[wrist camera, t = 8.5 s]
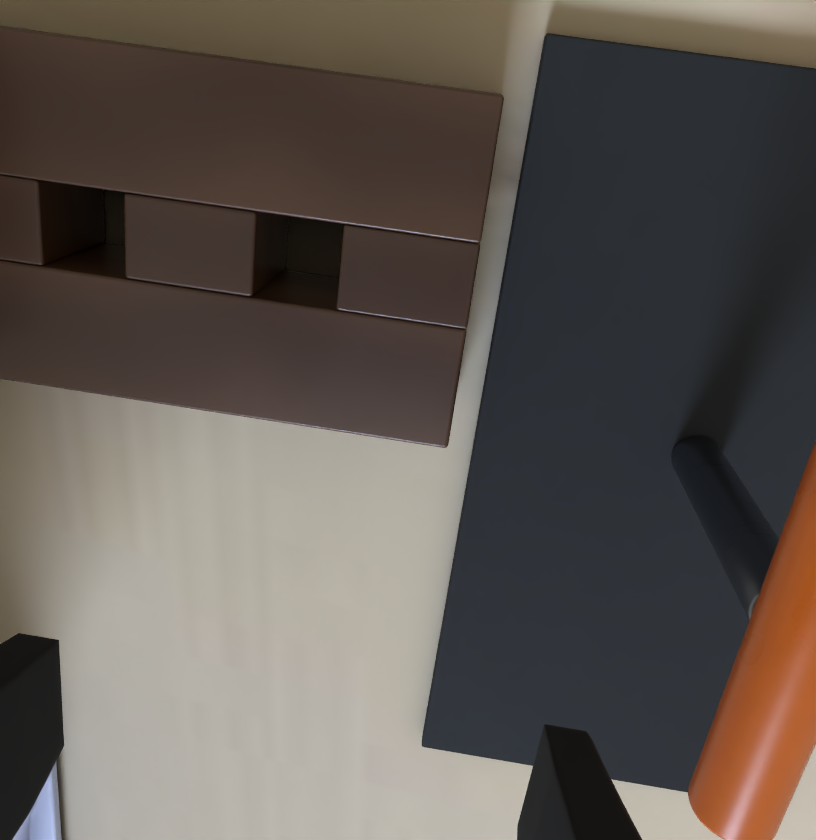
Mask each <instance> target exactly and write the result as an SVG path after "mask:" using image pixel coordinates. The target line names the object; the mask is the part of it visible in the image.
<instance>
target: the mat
mask: <svg viewBox="0 0 816 840" xmlns="http://www.w3.org/2000/svg"><path fill="white" fill-rule="evenodd" d="M694 435H702V436H706V437H709V438H711V439H713V440H714V441H715V442H716V443H717V444H718V446H719V447H720V449H721V450H722V452H723V453H724V455H725V456H726V458H727V460H728V461H729V463H730V464H731V466H732V467H733V469H734V470H735V472H736V473H737V475H738V476H739V478H740V479H741V481H742V482H743V484H744V485H745V487H746V488H747V490H748V492H749V493H750V495H751V496H752V498H753V499H754V501H755V502H756V504H757V505H758V507H759V508H760V510H761V511H762V513H763V514H764V516H765V517H766V519H767V520H768V522H769V524H770V525H771V527H772V528H773V530H774V531H775V533H776V534H777V536H778V537H779V538H780V536H781V533H782V530H783V527H784V525H785V522H786V519H787V516H788V514H789V511H790V508H791V506H792V503H793V500H794V497H795V495H796V492H797V489H798V486H799V484H800V481H801V478H802V475H803V473H804V470H805V467H806V465H807V462H808V459H809V456H810V454H811V451H812V448H813V445H814V443H815V440H816V69H814V68H806V67H799V66H791V65H783V64H776V63H768V62H761V61H753V60H746V59H738V58H731V57H723V56H716V55H708V54H700V53H693V52H685V51H678V50H670V49H663V48H655V47H648V46H640V45H632V44H625V43H617V42H610V41H602V40H595V39H587V38H580V37H572V36H565V35H557V34H549V33H548V34H546V35H545V37H544V43H543V49H542V54H541V60H540V66H539V72H538V77H537V83H536V89H535V94H534V100H533V106H532V112H531V117H530V123H529V129H528V135H527V140H526V146H525V152H524V157H523V163H522V169H521V175H520V180H519V186H518V192H517V198H516V203H515V209H514V215H513V220H512V226H511V232H510V238H509V243H508V249H507V255H506V261H505V266H504V272H503V278H502V283H501V289H500V295H499V301H498V306H497V312H496V318H495V324H494V329H493V335H492V341H491V346H490V352H489V358H488V364H487V369H486V375H485V381H484V387H483V392H482V398H481V404H480V409H479V415H478V421H477V427H476V432H475V438H474V444H473V450H472V455H471V461H470V467H469V473H468V478H467V484H466V490H465V495H464V501H463V507H462V513H461V518H460V524H459V530H458V536H457V541H456V547H455V553H454V558H453V564H452V570H451V576H450V581H449V587H448V593H447V599H446V604H445V610H444V616H443V621H442V627H441V633H440V639H439V644H438V650H437V656H436V662H435V667H434V673H433V679H432V684H431V690H430V696H429V702H428V707H427V713H426V719H425V725H424V730H423V737H422V746H423V747H427V748H433V749H439V750H445V751H451V752H456V753H462V754H468V755H474V756H480V757H485V758H491V759H497V760H503V761H509V762H515V763H520V764H526V765H532V766H533V765H534V761H535V758H536V754H537V750H538V746H539V742H540V739H541V735H542V731H543V727H544V724H547V725H553V726H559V727H565V728H570V729H576V730H582V731H587V733H588V734H589V735H590V737H591V738H592V740H593V742H594V744H595V746H596V748H597V751H598V753H599V755H600V757H601V759H602V761H603V764H604V766H605V768H606V770H607V772H608V774H609V776H610V778H611V779H613V780H619V781H625V782H631V783H637V784H642V785H648V786H654V787H660V788H666V789H672V790H677V791H683V792H688V788H689V784H690V781H691V779H692V776H693V773H694V771H695V768H696V765H697V762H698V760H699V757H700V754H701V751H702V749H703V746H704V743H705V740H706V738H707V735H708V732H709V730H710V727H711V724H712V721H713V719H714V716H715V713H716V710H717V708H718V705H719V702H720V700H721V697H722V694H723V691H724V689H725V686H726V683H727V680H728V678H729V675H730V672H731V669H732V667H733V664H734V661H735V659H736V656H737V653H738V650H739V648H740V645H741V642H742V639H743V637H744V634H745V631H746V628H747V626H748V623H749V619H748V617H747V615H746V613H745V611H744V609H743V607H742V605H741V603H740V601H739V599H738V597H737V595H736V593H735V591H734V589H733V587H732V585H731V583H730V581H729V579H728V577H727V575H726V573H725V571H724V569H723V567H722V565H721V563H720V561H719V559H718V557H717V555H716V553H715V551H714V548H713V546H712V544H711V542H710V540H709V538H708V536H707V534H706V532H705V530H704V528H703V526H702V524H701V522H700V520H699V518H698V516H697V514H696V512H695V510H694V508H693V506H692V504H691V502H690V500H689V498H688V496H687V494H686V492H685V490H684V488H683V486H682V484H681V482H680V480H679V478H678V476H677V474H676V472H675V470H674V468H673V465H672V462H671V456H672V452H673V450H674V448H675V447H676V445H677V444H678V443H679V442H680V441H681V440H683V439H685V438H687V437H690V436H694Z"/></svg>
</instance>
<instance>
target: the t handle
mask: <svg viewBox="0 0 816 840" xmlns="http://www.w3.org/2000/svg"><path fill="white" fill-rule="evenodd" d="M671 462H672V465H673V468H674V470H675V472H676V474H677V476H678V478H679V480H680V482H681V484H682V486H683V488H684V490H685V492H686V494H687V496H688V498H689V500H690V502H691V504H692V506H693V508H694V510H695V512H696V514H697V516H698V518H699V520H700V522H701V524H702V526H703V528H704V530H705V532H706V534H707V536H708V538H709V540H710V542H711V544H712V546H713V548H714V551H715V553H716V555H717V557H718V559H719V561H720V563H721V565H722V567H723V569H724V571H725V573H726V575H727V577H728V579H729V581H730V583H731V585H732V587H733V589H734V591H735V593H736V595H737V597H738V599H739V601H740V603H741V605H742V607H743V609H744V611H745V613H746V615H747V617H748V619H749V623H748V626H747V628H746V631H745V634H744V637H743V639H742V642H741V645H740V648H739V650H738V653H737V656H736V659H735V661H734V664H733V667H732V669H731V672H730V675H729V678H728V680H727V683H726V686H725V689H724V691H723V694H722V697H721V700H720V702H719V705H718V708H717V710H716V713H715V716H714V719H713V721H712V724H711V727H710V730H709V732H708V735H707V738H706V740H705V743H704V746H703V749H702V751H701V754H700V757H699V760H698V762H697V765H696V768H695V771H694V773H693V776H692V779H691V781H690V784H689V788H688V796H689V801H690V804H691V807H692V809H693V811H694V813H695V814H696V816H697V817H698V819H699V820H700V821H701V822H702V823H703V824H704V825H705V826H706V827H707V828H708V829H709V830H710V831H712V832H713V833H714V834H716V835H718V836H719V837H721V838H723V839H724V840H772V839H773V838H774V837H775V836H776V833H777V831H778V829H779V826H780V824H781V822H782V820H783V817H784V815H785V813H786V811H787V808H788V806H789V804H790V802H791V799H792V797H793V795H794V792H795V790H796V788H797V786H798V783H799V781H800V779H801V777H802V774H803V772H804V770H805V767H806V765H807V763H808V761H809V758H810V756H811V754H812V752H813V749H814V747H815V745H816V440H815V443H814V445H813V448H812V451H811V454H810V456H809V459H808V462H807V465H806V467H805V470H804V473H803V475H802V478H801V481H800V484H799V486H798V489H797V492H796V495H795V497H794V500H793V503H792V506H791V508H790V511H789V514H788V516H787V519H786V522H785V525H784V527H783V530H782V533H781V536H780V538H779V537H778V536H777V534H776V533H775V531H774V530H773V528H772V527H771V525H770V524H769V522H768V520H767V519H766V517H765V516H764V514H763V513H762V511H761V510H760V508H759V507H758V505H757V504H756V502H755V501H754V499H753V498H752V496H751V495H750V493H749V492H748V490H747V488H746V487H745V485H744V484H743V482H742V481H741V479H740V478H739V476H738V475H737V473H736V472H735V470H734V469H733V467H732V466H731V464H730V463H729V461H728V460H727V458H726V456H725V455H724V453H723V452H722V450H721V449H720V447H719V446H718V444H717V443H716V442H715V441H714V440H713V439H711V438H709V437H706V436H702V435H694V436H690V437H687V438H685V439H683V440H681V441H680V442H679V443H678V444H677V445H676V447H675V448H674V450H673V452H672V456H671Z"/></svg>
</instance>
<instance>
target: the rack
mask: <svg viewBox="0 0 816 840" xmlns="http://www.w3.org/2000/svg"><path fill="white" fill-rule="evenodd" d="M503 100H504V97H503V95H502V94H497V93H490V92H482V91H475V90H468V89H460V88H453V87H446V86H438V85H431V84H423V83H416V82H409V81H401V80H394V79H387V78H379V77H372V76H365V75H357V74H350V73H343V72H335V71H328V70H321V69H313V68H306V67H299V66H291V65H284V64H277V63H269V62H262V61H254V60H247V59H240V58H232V57H225V56H218V55H210V54H203V53H196V52H188V51H181V50H174V49H166V48H159V47H152V46H144V45H137V44H130V43H122V42H115V41H108V40H100V39H93V38H85V37H78V36H71V35H63V34H56V33H49V32H41V31H34V30H27V29H19V28H12V27H5V26H0V379H6V380H12V381H19V382H25V383H32V384H38V385H44V386H51V387H57V388H64V389H70V390H76V391H83V392H89V393H96V394H102V395H109V396H115V397H121V398H128V399H134V400H141V401H147V402H154V403H160V404H166V405H173V406H179V407H186V408H192V409H199V410H205V411H211V412H218V413H224V414H231V415H237V416H244V417H250V418H256V419H263V420H269V421H276V422H282V423H289V424H295V425H301V426H308V427H314V428H321V429H327V430H334V431H340V432H346V433H353V434H359V435H366V436H372V437H379V438H385V439H391V440H398V441H404V442H411V443H417V444H423V445H430V446H436V447H443V448H445V447H447V446H448V443H449V436H450V430H451V424H452V418H453V411H454V405H455V399H456V393H457V386H458V380H459V374H460V368H461V362H462V355H463V349H464V343H465V337H466V329H467V324H468V318H469V312H470V306H471V299H472V293H473V287H474V281H475V274H476V268H477V262H478V256H479V250H480V241H481V237H482V231H483V225H484V218H485V212H486V206H487V200H488V194H489V187H490V181H491V175H492V169H493V162H494V156H495V150H496V144H497V137H498V131H499V125H500V119H501V113H502V106H503ZM103 189H105V190H112V191H119V192H126V194H125V196H124V209H125V247H124V246H118V245H111V244H104V240H105V236H104V200H103ZM289 216H292V217H299V218H306V219H313V220H320V221H327V222H334V223H341V224H345V225H344V228H343V239H342V250H341V261H340V272H339V278H335V277H328V276H321V275H315V274H308V273H301V272H294V271H287V270H284V269H285V267H286V253H287V238H288V222H289Z"/></svg>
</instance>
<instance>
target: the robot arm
mask: <svg viewBox="0 0 816 840" xmlns="http://www.w3.org/2000/svg"><path fill="white" fill-rule="evenodd" d="M63 746H64V736H63V716H62V696H61V676H60V656H59V640H55V639H49V638H44V637H38V636H32V635H26V634H20V633H18V634H17V635H15V636H13V637H12V638H10V639H8V640H7V641H5V642H3V643H2V644H0V840H62V838H61V824H60V810H59V795H58V781H57V767H56V760H57V758H58V756H59V754H60V752H61V750H62V748H63ZM517 840H642V839H641V837H640V835H639V833H638V831H637V829H636V827H635V825H634V824H633V822H632V820H631V818H630V816H629V814H628V812H627V810H626V808H625V806H624V804H623V802H622V800H621V798H620V796H619V794H618V792H617V790H616V788H615V786H614V784H613V782H612V780H611V778H610V776H609V774H608V772H607V770H606V768H605V766H604V764H603V761H602V759H601V757H600V755H599V753H598V751H597V748H596V746H595V744H594V742H593V740H592V738H591V737H590V735H589V734H588V733H587V731H582V730H576V729H570V728H565V727H559V726H553V725H547V724H544V727H543V731H542V735H541V739H540V742H539V746H538V750H537V754H536V758H535V761H534V765H533V769H532V773H531V777H530V780H529V784H528V788H527V792H526V796H525V800H524V803H523V807H522V811H521V815H520V819H519V822H518V832H517Z"/></svg>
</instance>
